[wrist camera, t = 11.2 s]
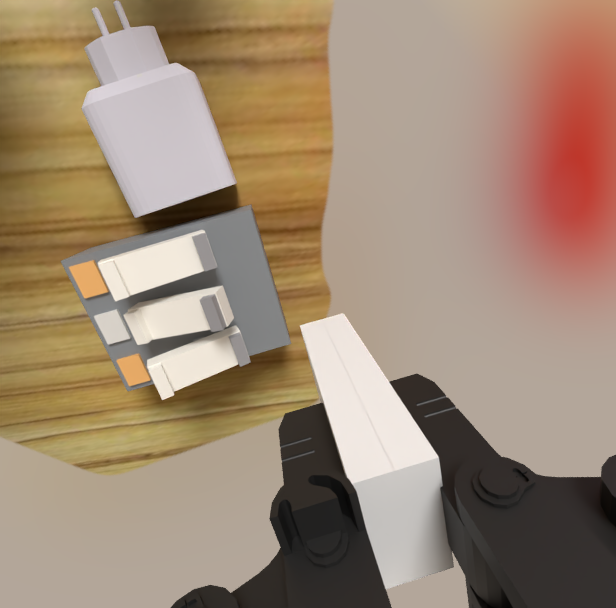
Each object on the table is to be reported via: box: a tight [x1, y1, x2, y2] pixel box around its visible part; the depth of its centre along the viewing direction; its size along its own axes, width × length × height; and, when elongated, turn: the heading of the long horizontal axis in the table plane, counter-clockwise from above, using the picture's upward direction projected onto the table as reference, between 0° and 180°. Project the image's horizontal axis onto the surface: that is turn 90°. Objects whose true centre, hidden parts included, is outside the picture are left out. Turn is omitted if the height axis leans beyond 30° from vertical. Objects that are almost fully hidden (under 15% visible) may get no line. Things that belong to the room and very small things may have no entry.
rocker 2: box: [123, 285, 234, 345], centre depth 30 cm, size 8×3×2 cm, turn 104°
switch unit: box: [61, 205, 291, 391], centre depth 34 cm, size 16×13×7 cm
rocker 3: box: [147, 325, 251, 400], centre depth 31 cm, size 8×3×2 cm, turn 104°
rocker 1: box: [98, 230, 217, 301], centre depth 28 cm, size 8×3×2 cm, turn 104°
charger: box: [82, 1, 237, 218], centre depth 30 cm, size 5×9×15 cm
